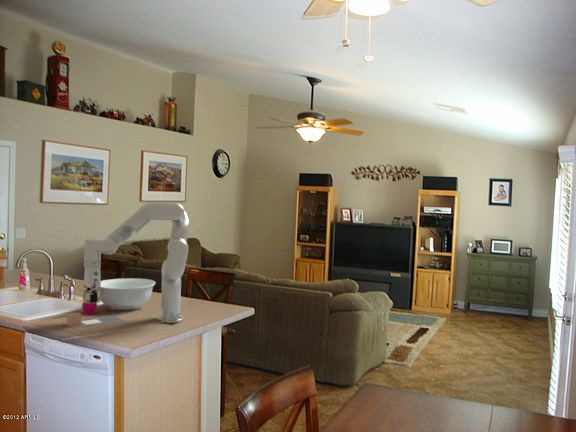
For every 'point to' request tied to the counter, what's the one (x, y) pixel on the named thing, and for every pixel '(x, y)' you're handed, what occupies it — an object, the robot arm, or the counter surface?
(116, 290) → the bowl
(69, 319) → the terracotta cube
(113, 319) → the board
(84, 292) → the maple block
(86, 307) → the pepper mill
